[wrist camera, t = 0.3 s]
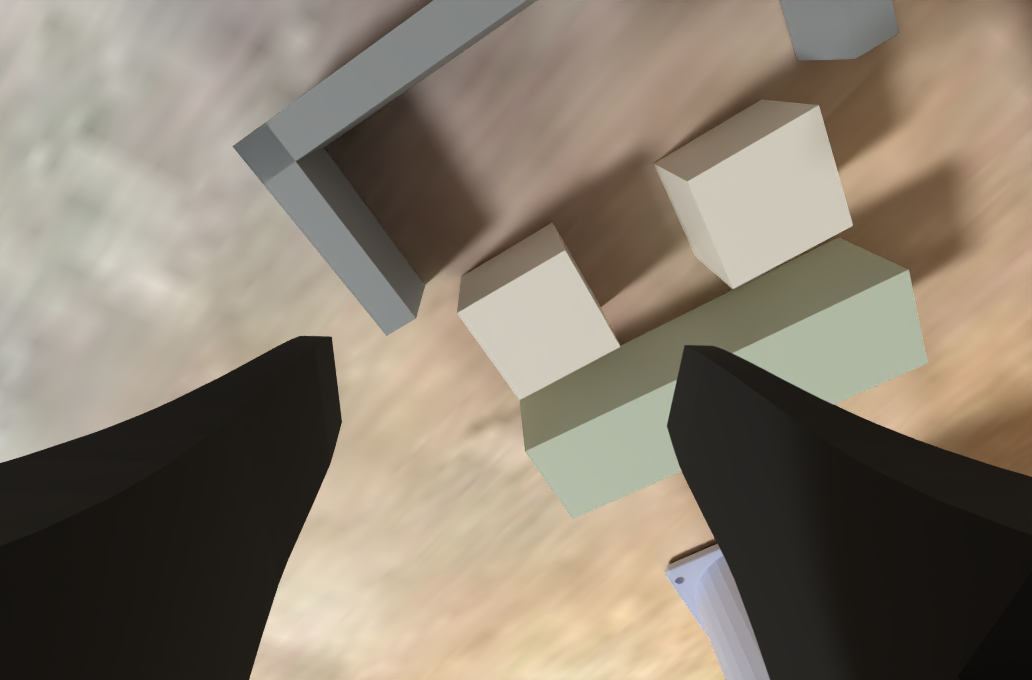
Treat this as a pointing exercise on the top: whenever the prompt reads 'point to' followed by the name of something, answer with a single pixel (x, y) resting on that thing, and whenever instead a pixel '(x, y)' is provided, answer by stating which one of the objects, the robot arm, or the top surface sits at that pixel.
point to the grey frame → (402, 64)
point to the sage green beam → (737, 329)
